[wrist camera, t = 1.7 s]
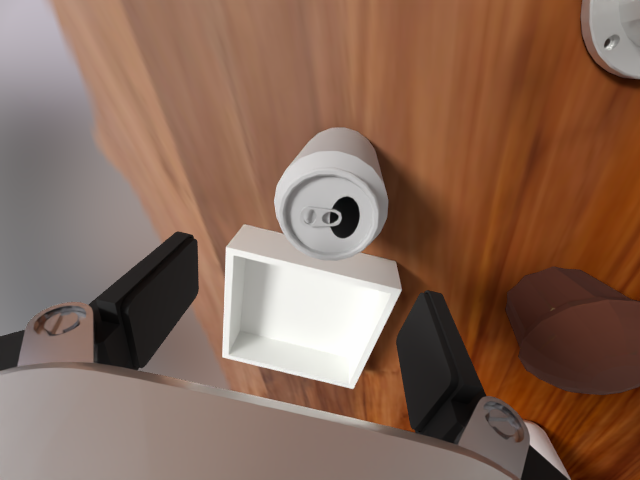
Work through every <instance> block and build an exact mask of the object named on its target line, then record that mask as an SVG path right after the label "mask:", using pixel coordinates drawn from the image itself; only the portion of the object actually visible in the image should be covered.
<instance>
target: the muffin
mask: <svg viewBox="0 0 640 480" xmlns="http://www.w3.org/2000/svg"><path fill="white" fill-rule="evenodd" d="M505 310H506V313H507V315H508V318H509V321H510V323H511V326H512V328H513V331H514V333H515V336H516V339H517V341H518V344H519V346H520V352H519V356H518V357H519V359H520V360H521V362H522V364H523V365H524V367H525V369H526V371H528V372H531V373H532V374H533V375H535V376H536V377H538V378H539V379H541V380H543V381H545V382H547V383H550V384H552V385H554V386H556V387H558V388H561V389H563V390H565V391H570V392H576V393H586V394H598V395H606V394H614V393H621V392H624V391H627V390H630V389H634V388H637V387H639V386H640V301H636V300H631V299H630V298H628V297H626V296H625V295H623V294H621V293H619V292H618V291H616V290H614V289H612V288H611V287H609V286H607V285H606V284H604V283H602V282H600V281H599V280H597V279H595V278H594V277H592V276H590V275H588V274H587V273H585V272H583V271H582V270H576V269H563V268H558V267H551V268H548V269H545V270H543V271H540V272H537V273H533V274H530V275H526V276H524V277H523V278H522V279H521V281H520V282H519V283H518V284H517V285H516V286H515V287H513V288H512V289H511V290H510V291H508V292H507V305H506V309H505Z"/></svg>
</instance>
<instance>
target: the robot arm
mask: <svg viewBox="0 0 640 480" xmlns="http://www.w3.org/2000/svg"><path fill="white" fill-rule="evenodd" d="M581 25H582V35H583V38H584V41H585V44H586V47H587V50H588V52H589V53H590V55H591V56H592V58H593V59H594V60H595V62H596V63H597V64H598V65H600V66H601V67H602V68H603V69H605V70H606V71H607V72H609V73H612V74H615V75H617V76H620V77H623V78H631V79H640V0H582V9H581ZM604 44H605V45H604ZM198 289H199V286H198V246H197V240H196V239H194V237H193V235H191V234H187V233H182V232H176V233H174V234H173V235H172V236H171V237H169V238H168V239H167V240H166V241H165V242H163V243H162V244H161V245H160V246H159V247H157V248H156V249H155V250H154V251H153V252H151V253H150V254H149V255H148V256H147V257H145V258H144V259H143V260H142V261H140V262H139V263H138V264H137V265H136V266H134V267H133V268H132V269H131V270H130V271H128V272H127V273H126V274H125V275H123V276H122V277H121V278H120V279H119V280H117V281H116V282H115V283H114V284H113V285H111V286H110V287H109V288H108V289H107V290H106V291H104V292H103V293H102V294H101V295H100V296H98V297H97V298H96V299H95V300H93V301H92V302H91V303H90V304H89V305H87V304H84V303H81V302H67V303H61V304H58V305H54V306H51V307H49V308H47V309H44V310H42V311H41V312H39V313H38V314H36V315H35V316H34V317H33V318H32V319H31V320H30V321H29V322H28V324H27V326H26V328H25V330H22V331H19V332H15V333H11V334H8V335H4V336H0V480H569V479H568V478H567V477H566V476H564V475H563V474H562V473H561V472H560V471H559V470H558V469H557V468H555V467H554V466H553V465H552V464H551V463H550V462H549V461H548V460H547V459H545V458H544V457H543V456H542V455H541V454H540V453H539V452H538V451H536V450H535V449H534V448H533V447H532V446H531V445H530V434H529V431H528V428H527V426H526V425H525V423H524V421H523V420H522V418H521V417H520V416H519V415H518V413H517V412H516V411H515V410H514V409H513V408H511V407H510V406H509V405H508V404H506V403H505V402H503V401H502V400H500V399H497V398H495V397H490V396H486V394H485V392H484V389H483V387H482V385H481V383H480V380H479V378H478V376H477V373H476V371H475V369H474V366H473V364H472V362H471V359H470V357H469V355H468V353H467V350H466V348H465V346H464V343H463V341H462V339H461V336H460V334H459V332H458V330H457V327H456V325H455V323H454V320H453V318H452V316H451V313H450V311H449V309H448V306H447V304H446V302H445V300H444V297H443V295H442V294H441V293H437V292H433V291H429V290H426V291H425V292H424V293H420V294H419V296H418V298H417V300H416V302H415V304H414V305H413V307H412V309H411V311H410V313H409V315H408V317H407V319H406V320H405V322H404V324H403V326H402V328H401V330H400V332H399V334H398V336H397V340H396V345H397V350H398V356H399V362H400V368H401V374H402V379H403V385H404V391H405V397H406V403H407V409H408V414H409V420H410V425H411V428H412V429H414V430H415V432H416V433H413V432H409V431H405V430H401V429H397V428H393V427H389V426H385V425H380V424H376V423H372V422H367V421H363V420H359V419H354V418H350V417H346V416H341V415H337V414H333V413H328V412H324V411H320V410H315V409H311V408H307V407H302V406H298V405H293V404H289V403H285V402H280V401H276V400H271V399H267V398H262V397H258V396H253V395H249V394H245V393H240V392H236V391H231V390H227V389H222V388H217V387H213V386H208V385H204V384H199V383H195V382H190V381H186V380H180V379H177V378H172V377H167V376H163V375H158V374H153V373H147V372H142V371H138V368H139V367H140V368H143V367H144V366H145V365H146V364H147V363H148V362H149V360H150V359H151V357H152V356H153V355H154V353H155V352H156V351H157V349H158V348H159V347H160V345H161V344H162V343H163V341H164V340H165V339H166V337H167V336H168V334H169V333H170V331H171V330H172V329H173V328H174V326H175V325H176V323H177V322H178V321H179V320H180V318H181V317H182V315H183V314H184V313H185V311H186V310H187V309H188V307H189V306H190V305H191V303H192V302H193V301H194V299H195V298H196V296H197V294H198Z"/></svg>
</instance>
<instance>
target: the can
mask: <svg viewBox="0 0 640 480" xmlns="http://www.w3.org/2000/svg"><path fill="white" fill-rule="evenodd" d="M274 204H275V211H276V217H277V219H278V221H279V223H280V227H281V229H282V231H283V233H284V235H285V237H286V239H287V240H288V241H289V242H290V243H291V244H292V245H293V246H294V247H295V248H296V249H297V250H299V251H301V252H302V253H304V254H306V255H307V256H309V257H313V258H316V259H320V260H331V261H338V260H342V259H346V258H350V257H352V256H354V255H356V254H358V253H359V252H361V251H363V250H364V249H365V248H366V247H367V246H368V245H369V244H370V243H371V242H372V241H373V240H374V239H375V238H376V237H377V236H378V235H379V234H380V232H381V230H382V228H383V226H384V223H385V221H386V219H387V213H388V197H387V193H386V189H385V185H384V182H383V178H382V174H381V170H380V166H379V162H378V159H377V155H376V152H375V149H374V148H373V146H372V145H371V143H370V142H369V140H368V139H367V138H365V137H364V136H363V135H361V134H360V133H359V132H357V131H354V130H351V129H348V128H330V129H327V130H325V131H322V132H320V133H318V134H317V135H316V136H315V137H313V138H312V139H311V140H310V141H309V142H308V143H307V144H306V146H305V147H304V148H303V149H302V151H301V152H300V153H299V154H298V156H297V157H296V158H295V159H294V161H293V162H292V163H291V164H290V166H289V167H288V168H287V169H286V171H285V172H284V174H283V176H282V177H281V179H280V181H279V183H278V184H277V188H276V194H275V199H274Z"/></svg>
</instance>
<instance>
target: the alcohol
mask: <svg viewBox="0 0 640 480" xmlns="http://www.w3.org/2000/svg"><path fill="white" fill-rule="evenodd" d="M522 420H523V421H524V423H525V425H526V426H527V428H528V431H529V434H530V445H531V446H532V447H533V448H534V449H535V450H536V451H538V452H539V453H540V454H541V455H542V456H543V457H544V458H545V459H547V460H548V461H549V462H550V463H551V464H552V465H553V466H554V467H555V468H557V469H558V470H559V471H560V472H561V473H562V474H563V475H564V476H566V477H567V478H568V479H569V480H571V479H570V477H569V475H568V473H567V471H566V470H565V468H564V466H563V464H562V462H561V460H560V458H559V456H558V455H557V453H556V451H555V449H554V447H553V445H552V443H551V442H550V440H549V438H548V436H547V434H546V432H545V431H544V430H543V429H542V428H541V427H539V426H538V425H537V424H535V423H534V422H532V421H529V420H525V419H522Z"/></svg>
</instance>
